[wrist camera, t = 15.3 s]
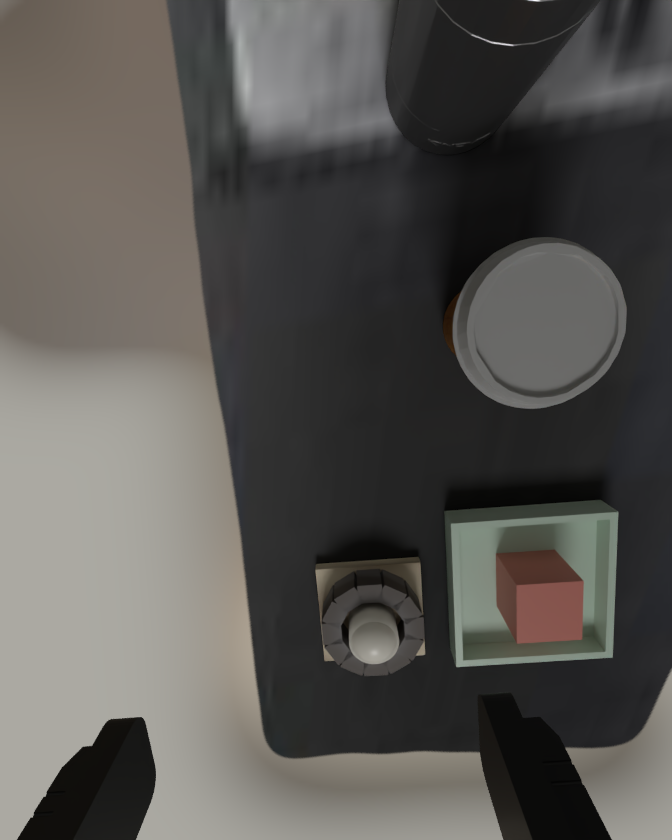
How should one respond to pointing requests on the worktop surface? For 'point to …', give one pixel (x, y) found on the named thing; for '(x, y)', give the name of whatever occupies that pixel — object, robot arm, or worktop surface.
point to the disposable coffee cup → (537, 322)
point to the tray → (518, 532)
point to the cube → (539, 596)
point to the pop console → (371, 584)
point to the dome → (373, 633)
